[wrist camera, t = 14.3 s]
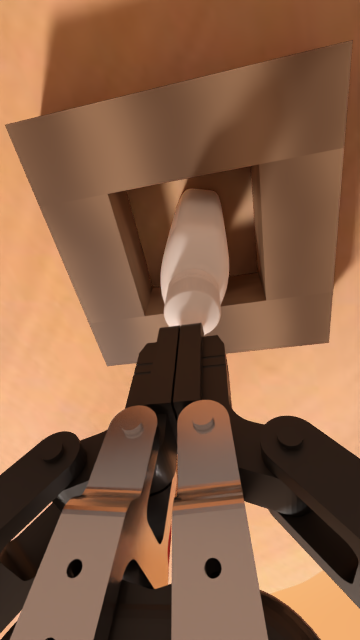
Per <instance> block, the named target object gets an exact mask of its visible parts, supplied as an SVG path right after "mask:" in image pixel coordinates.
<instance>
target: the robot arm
mask: <svg viewBox="0 0 360 640" xmlns="http://www.w3.org/2000/svg"><path fill="white" fill-rule="evenodd" d="M136 365H137V366H136V368H135V372H134V375H133V379H132V383H131V387H130V391H129V395H128V399H127V403H126V407H125V409H124V410H122V411H121V412H119V413H118V414H117V415H116V416H115V417H114V418H113V420H112V421H111V423H110V425H109V428H108V430H106V431H104V432H102V433H100V434H97V435H94V436H92V437H89V438H86V439H83V440H81V441H80V440H79V439H78V437H77V436H76V435H75V434H74V433H71V432H67V431H65V432H58V433H55V434H52V435H50V436H48V437H47V438H45V439H44V440H42V441H41V442H40V443H39V444H38V445H36V446H35V447H34V448H33V449H31V450H30V451H29V452H28V453H27V454H25V455H24V456H23V457H22V458H20V459H19V460H18V461H17V462H16V463H14V464H13V465H12V466H11V467H10V468H8V469H7V470H6V471H5V472H3V473H2V474H1V475H0V633H1V632H2V631H3V630H4V629H5V628H6V626H7V625H8V624H9V623H10V622H11V621H12V620H13V619H14V618H15V616H16V615H17V614H18V613H19V612H20V611H21V610H22V611H21V613H20V616H19V618H18V621H17V622H16V623H15V624H14V625H13V626H12V627H11V628H10V630H9V631H8V632H7V633H6V634H5V635H4V636H3V638H2V639H1V640H321V639H320V638H319V637H318V636H317V634H316V633H315V632H314V631H313V629H312V628H311V627H310V626H309V625H308V624H307V623H306V622H305V621H304V620H303V619H302V618H301V616H299V615H298V614H297V613H296V612H295V611H294V610H292V609H291V608H290V607H289V606H288V605H286V604H285V603H283V602H282V601H280V600H279V599H277V598H276V597H274V596H272V595H270V594H268V593H266V592H264V591H262V590H259V584H258V578H257V573H256V567H255V561H254V555H253V550H252V544H251V538H250V532H249V527H248V521H247V515H246V509H245V504H244V501H246V502H249V503H252V504H255V505H258V506H261V507H264V508H267V509H268V510H269V511H270V513H271V514H272V516H273V517H274V518H275V519H276V520H277V521H278V522H279V523H280V524H281V525H282V526H283V527H284V528H285V530H286V531H287V532H288V533H289V534H290V535H291V536H292V537H293V538H294V539H295V540H296V541H297V542H298V543H299V544H300V546H301V547H302V548H303V549H304V550H305V551H306V552H307V553H308V554H309V555H310V556H311V557H312V558H313V559H314V560H315V562H316V563H317V564H318V565H319V566H320V567H321V568H322V569H323V570H324V571H325V572H326V573H327V574H328V575H329V576H330V577H331V579H332V580H334V582H335V583H336V584H337V585H338V586H339V587H340V588H341V589H342V590H343V591H344V592H345V593H346V594H347V596H348V597H349V598H350V599H351V600H352V601H353V602H354V603H355V604H356V605H357V606H358V607H359V608H360V459H359V458H358V457H357V456H355V455H354V454H352V453H351V452H350V451H348V450H347V449H345V448H344V447H343V446H341V445H340V444H338V443H337V442H336V441H334V440H333V439H331V438H330V437H328V436H327V435H326V434H324V433H323V432H321V431H320V430H319V429H317V428H316V427H314V426H313V425H312V424H310V423H309V422H307V421H305V420H303V419H301V418H298V417H294V416H280V417H276V418H274V419H271V420H270V421H268V422H267V423H266V424H265V425H264V424H259V423H255V422H251V421H248V420H245V419H243V418H241V417H240V416H238V415H237V414H236V413H235V412H234V411H233V409H232V403H231V392H230V381H229V372H228V365H227V359H226V352H225V345H224V343H223V341H222V340H221V339H220V338H219V336H218V335H213V336H204V331H203V326H202V323H194V324H186V325H181V326H180V325H178V326H170V327H162V328H160V329H159V332H158V338H157V342H153V343H147V344H146V345H145V346H144V348H143V349H142V350H141V352H140V353H139V356H138V360H137V364H136ZM177 454H178V493H177V497H175V492H176V485H177V473H176V459H177ZM51 502H53V503H52V504H51V505H50V506H49V507H48V508H47V509H46V510H45V511H44V512H43V513H42V514H41V515H40V516H39V517H37V518H36V519H35V520H34V521H33V522H32V523H31V524H30V525H29V526H28V527H27V528H26V529H25V530H24V531H23V532H22V533H21V534H20V535H19V536H18V537H16V538H15V539H14V540H12V539H13V538H14V537H15V536H16V535H17V534H18V533H19V532H20V531H21V530H22V529H23V528H24V527H25V526H26V525H27V524H29V523H30V522H31V521H32V520H33V519H34V518H35V517H36V516H37V515H38V514H39V513H40V512H41V511H42V510H43V509H44V508H45V507H46V506H47V505H48V504H49V503H51ZM171 519H172V584H169V585H168V577H169V566H168V556H167V550H168V540H169V533H170V526H171ZM11 540H12V541H11Z"/></svg>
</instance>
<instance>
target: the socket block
mask: <svg viewBox="0 0 360 640" xmlns="http://www.w3.org/2000/svg"><path fill="white" fill-rule="evenodd" d="M352 43H353V40H351V41H347V42H343V43H339V44H335V45H331V46H326V47H322V48H318V49H314V50H310V51H306V52H302V53H298V54H294V55H290V56H285V57H281V58H277V59H273V60H269V61H265V62H261V63H257V64H253V65H248V66H244V67H240V68H236V69H232V70H228V71H224V72H220V73H216V74H212V75H207V76H203V77H199V78H195V79H191V80H187V81H183V82H179V83H175V84H171V85H166V86H162V87H158V88H154V89H150V90H146V91H142V92H138V93H134V94H130V95H125V96H121V97H117V98H113V99H109V100H105V101H101V102H97V103H93V104H89V105H84V106H80V107H76V108H72V109H68V110H64V111H60V112H56V113H52V114H47V115H43V116H39V117H35V118H31V119H27V120H23V121H19V122H15V123H11V124H6V125H5V126H6V129H7V131H8V133H9V136H10V138H11V140H12V143H13V145H14V147H15V150H16V152H17V155H18V157H19V159H20V162H21V164H22V166H23V169H24V171H25V173H26V176H27V178H28V180H29V183H30V185H31V188H32V190H33V192H34V195H35V197H36V199H37V202H38V204H39V206H40V209H41V211H42V214H43V216H44V218H45V221H46V223H47V225H48V228H49V230H50V232H51V235H52V237H53V239H54V242H55V244H56V247H57V249H58V251H59V254H60V256H61V258H62V261H63V263H64V265H65V268H66V270H67V272H68V275H69V277H70V280H71V282H72V284H73V287H74V289H75V291H76V294H77V296H78V298H79V301H80V303H81V305H82V308H83V310H84V313H85V315H86V317H87V320H88V322H89V324H90V327H91V329H92V331H93V334H94V336H95V339H96V341H97V343H98V346H99V348H100V350H101V353H102V355H103V357H104V360H105V362H106V364H107V366H113V365H122V364H132V363H137V360H138V356H139V353H140V352H141V350H142V349H143V348H144V346H145V345H146V344H147V343H153V342H157V338H158V332H159V329H160V328H162V327H169V325H168V324H167V322H166V320H165V318H164V306H165V304H164V300H163V297H162V292H161V286H160V287H152V284H151V280H150V276H149V273H148V269H147V265H146V262H145V258H144V254H143V250H142V247H141V243H140V239H139V236H138V232H137V228H136V225H135V221H134V217H133V214H132V210H131V206H130V203H129V199H128V195H127V191H126V190H130V189H135V188H140V187H146V186H151V185H156V184H161V183H166V182H171V181H176V180H182V179H187V178H192V177H197V176H202V175H207V174H212V173H217V172H223V171H228V170H233V169H238V168H243V167H248V166H251V178H252V194H253V209H254V224H255V239H256V255H257V270H258V273H251V274H244V275H237V276H230V277H229V278H228V284H227V289H226V292H225V295H224V298H223V301H222V303H221V317H220V321H219V322H218V324H217V326H216V328H214V330H212V331H211V332H209V333H207V334H205V335H204V336H213V335H218V336H219V338H220V339H221V340H222V341H223V343H224V345H225V352H226V354H227V353H236V352H246V351H255V350H264V349H274V348H283V347H293V346H302V345H312V344H321V343H329V334H330V321H331V309H332V296H333V283H334V271H335V258H336V245H337V233H338V220H339V207H340V195H341V182H342V169H343V157H344V144H345V131H346V119H347V106H348V93H349V81H350V68H351V55H352Z"/></svg>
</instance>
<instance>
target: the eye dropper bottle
mask: <svg viewBox="0 0 360 640" xmlns="http://www.w3.org/2000/svg"><path fill="white" fill-rule="evenodd" d="M228 278H229V254H228V247H227V239H226V232H225V226H224V219H223V213H222V207H221V203H220V199H219V196H218V195H217V193H216V192H214V191H212V190H204V189H187V190H186V191H185V192H184V193H183V194H182V196H181V198H180V200H179V202H178V204H177V207H176V210H175V213H174V217H173V221H172V224H171V228H170V232H169V236H168V240H167V244H166V247H165V251H164V256H163V260H162V266H161V292H162V297H163V300H164V304H165V306H164V318H165V320H166V322H167V324H168V325H169V327H170V326H178V325H180V326H181V325H186V324H194V323H202V326H203V331H204V335H205V334H207V333H209V332H211V331H212V330H214V328H216V326H217V324H218V322H219V321H220V317H221V303H222V301H223V298H224V295H225V292H226V289H227V284H228Z"/></svg>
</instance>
